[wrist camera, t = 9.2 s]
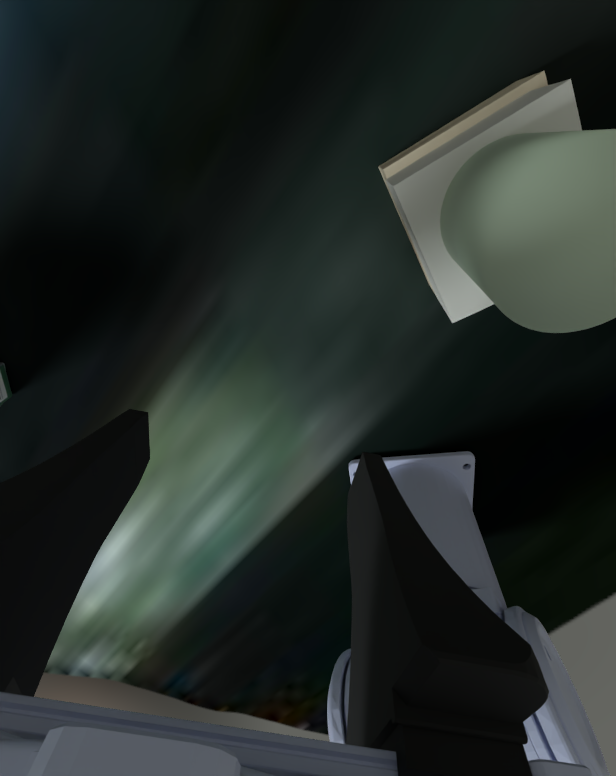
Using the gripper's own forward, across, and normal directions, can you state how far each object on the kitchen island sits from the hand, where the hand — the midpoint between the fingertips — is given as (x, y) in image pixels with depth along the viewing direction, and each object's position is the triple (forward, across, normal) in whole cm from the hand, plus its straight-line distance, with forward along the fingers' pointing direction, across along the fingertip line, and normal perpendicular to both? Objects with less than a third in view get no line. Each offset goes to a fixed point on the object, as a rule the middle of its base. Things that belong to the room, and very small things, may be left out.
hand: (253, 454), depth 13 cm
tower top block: (+8, -7, -8) cm, 13 cm away
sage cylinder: (+5, -7, -8) cm, 12 cm away
